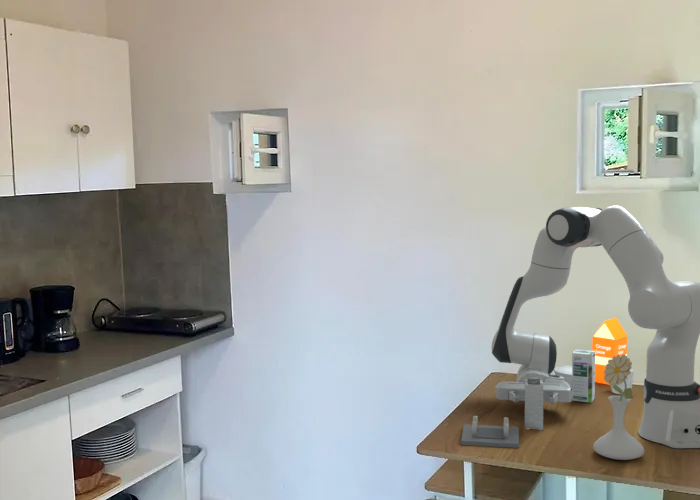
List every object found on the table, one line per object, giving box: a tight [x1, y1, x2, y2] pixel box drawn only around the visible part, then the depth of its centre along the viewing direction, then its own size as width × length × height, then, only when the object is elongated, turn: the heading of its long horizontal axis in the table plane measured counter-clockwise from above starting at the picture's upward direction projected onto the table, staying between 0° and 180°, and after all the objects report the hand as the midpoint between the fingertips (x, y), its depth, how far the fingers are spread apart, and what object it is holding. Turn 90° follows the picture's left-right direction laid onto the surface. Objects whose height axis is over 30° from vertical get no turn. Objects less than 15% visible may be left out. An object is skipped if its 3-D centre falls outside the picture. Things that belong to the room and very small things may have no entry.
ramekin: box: [553, 365, 572, 389], centre depth 242 cm, size 11×11×5 cm
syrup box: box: [571, 349, 596, 404], centre depth 227 cm, size 6×6×14 cm
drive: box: [524, 378, 544, 430], centre depth 204 cm, size 5×6×12 cm
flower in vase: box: [592, 354, 645, 461], centre depth 180 cm, size 13×11×25 cm
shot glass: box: [610, 368, 635, 396], centre depth 235 cm, size 7×7×7 cm
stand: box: [460, 415, 520, 449], centre depth 196 cm, size 14×13×4 cm
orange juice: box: [591, 317, 628, 386], centre depth 247 cm, size 8×9×20 cm
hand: (534, 400), depth 206 cm, fingers open, 8 cm apart
